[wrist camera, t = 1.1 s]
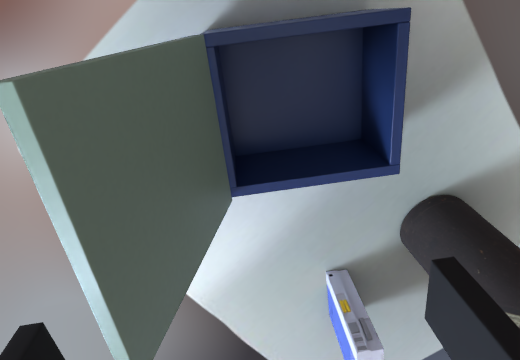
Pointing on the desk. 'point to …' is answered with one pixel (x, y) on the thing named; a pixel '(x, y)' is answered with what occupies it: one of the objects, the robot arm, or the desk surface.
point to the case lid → (127, 178)
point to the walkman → (351, 319)
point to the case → (310, 98)
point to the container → (465, 247)
